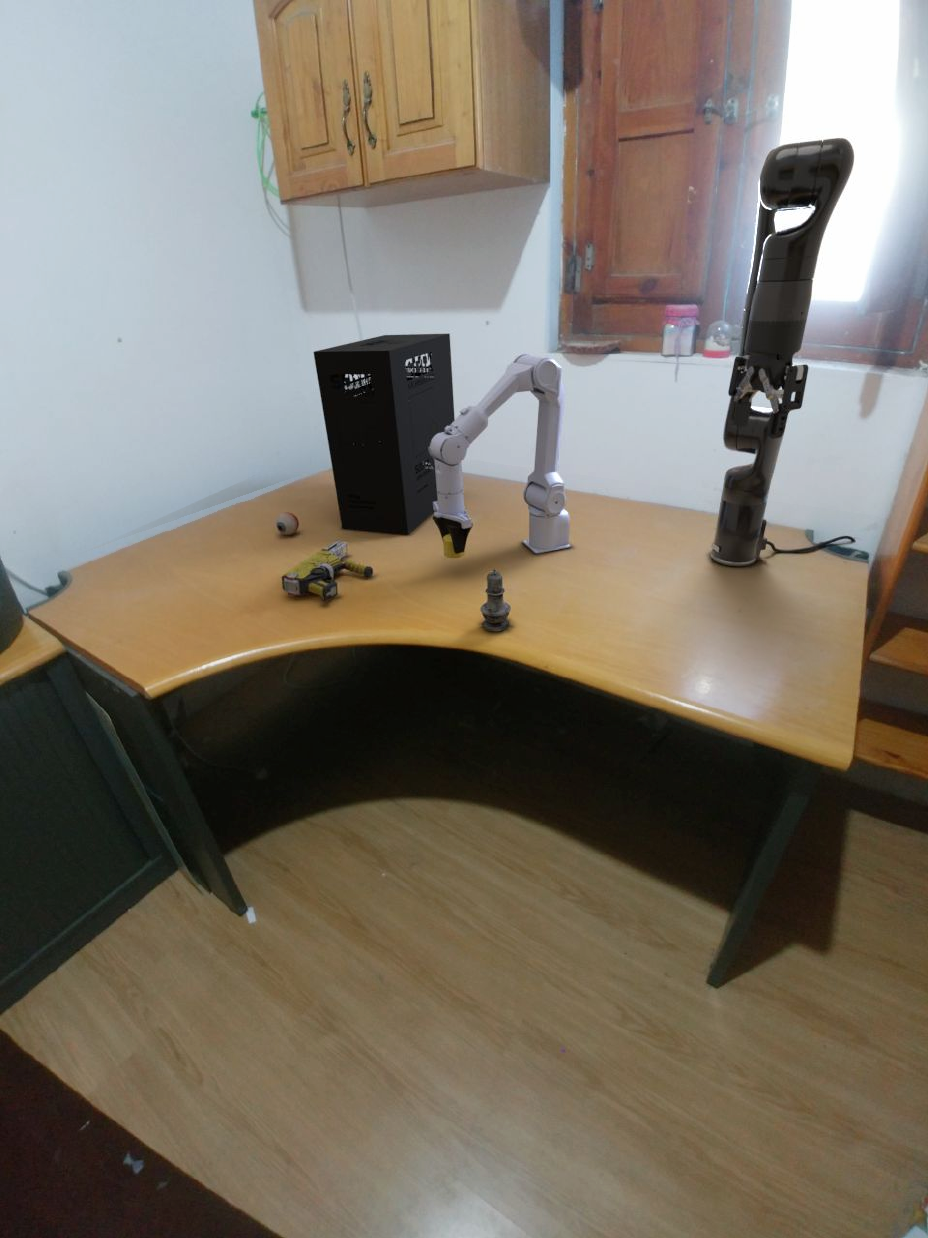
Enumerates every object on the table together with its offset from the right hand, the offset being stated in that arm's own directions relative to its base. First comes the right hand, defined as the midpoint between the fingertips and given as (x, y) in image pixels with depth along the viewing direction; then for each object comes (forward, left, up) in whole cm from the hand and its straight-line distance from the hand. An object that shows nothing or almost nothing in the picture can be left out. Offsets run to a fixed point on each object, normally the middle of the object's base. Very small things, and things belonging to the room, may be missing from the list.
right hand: (756, 431), depth 94 cm
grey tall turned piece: (+39, -14, -36) cm, 55 cm away
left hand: (+42, -41, -30) cm, 66 cm away
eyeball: (+80, -78, -36) cm, 118 cm away
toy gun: (+68, -45, -36) cm, 90 cm away
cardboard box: (+47, -88, -36) cm, 106 cm away
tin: (+42, -41, -32) cm, 66 cm away
